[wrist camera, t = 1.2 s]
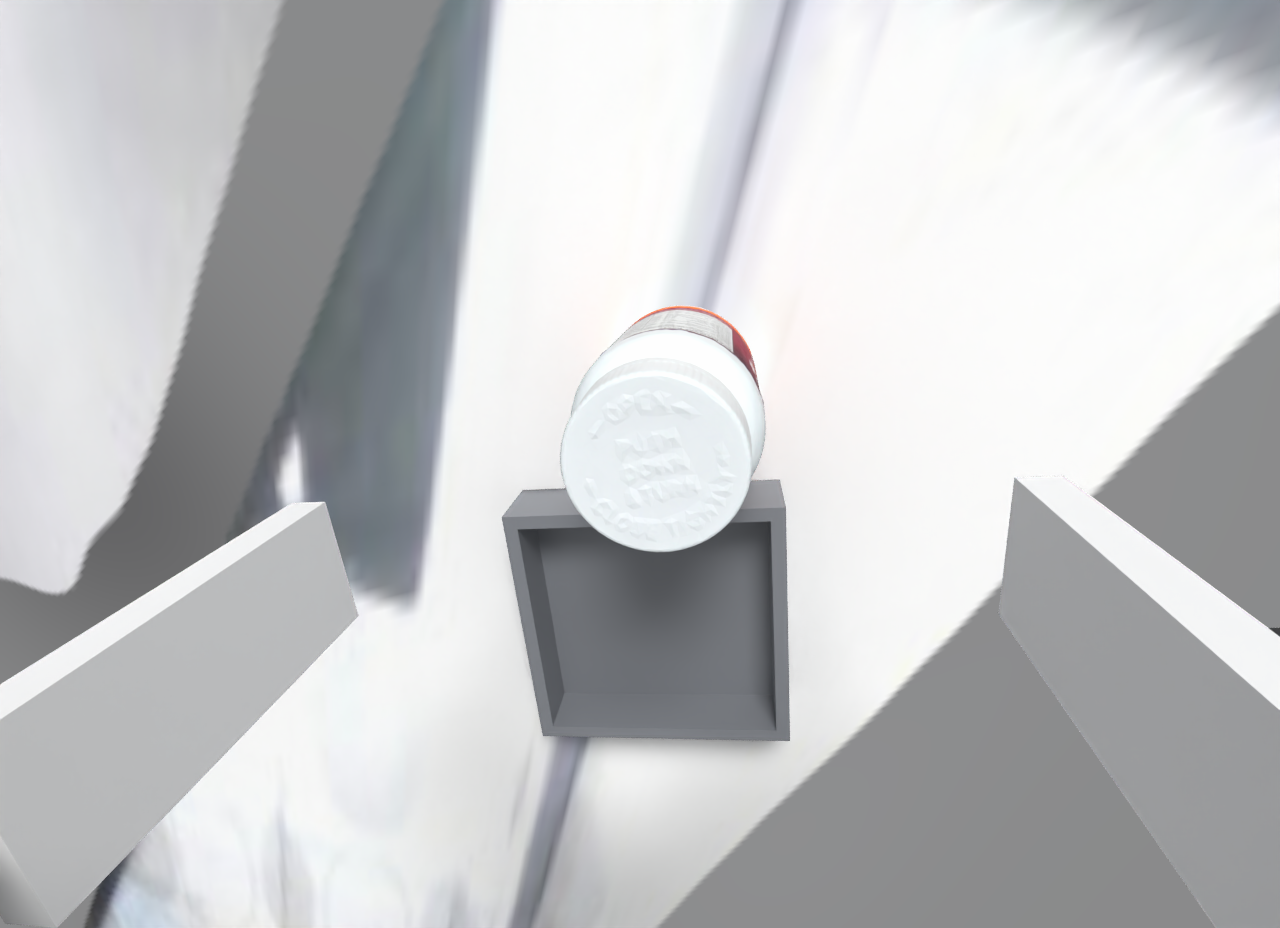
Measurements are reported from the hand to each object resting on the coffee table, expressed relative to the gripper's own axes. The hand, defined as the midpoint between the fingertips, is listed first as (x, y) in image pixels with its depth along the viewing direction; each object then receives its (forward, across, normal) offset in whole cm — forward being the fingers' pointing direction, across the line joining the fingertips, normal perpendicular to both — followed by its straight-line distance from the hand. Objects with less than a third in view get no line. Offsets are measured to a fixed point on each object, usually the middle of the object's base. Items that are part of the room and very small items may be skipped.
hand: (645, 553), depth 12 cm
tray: (+16, -2, -11) cm, 19 cm away
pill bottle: (+16, 0, 0) cm, 16 cm away
